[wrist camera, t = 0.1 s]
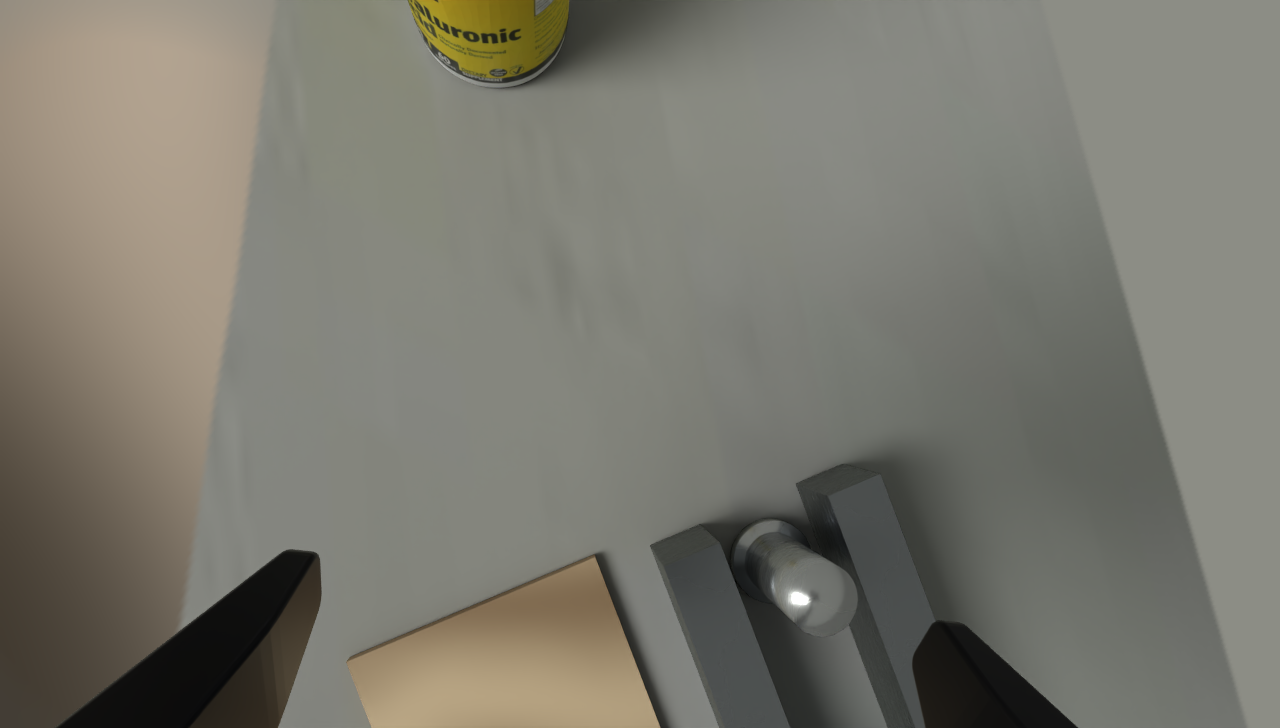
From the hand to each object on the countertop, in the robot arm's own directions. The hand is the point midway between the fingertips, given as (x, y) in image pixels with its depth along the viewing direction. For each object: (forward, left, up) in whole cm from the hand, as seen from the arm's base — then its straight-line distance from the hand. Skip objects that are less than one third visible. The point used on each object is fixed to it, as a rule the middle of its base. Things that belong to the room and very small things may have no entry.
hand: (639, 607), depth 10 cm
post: (-6, -5, -15) cm, 17 cm away
